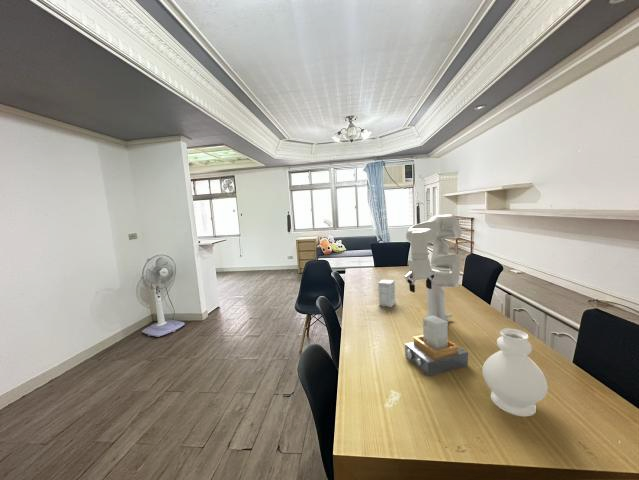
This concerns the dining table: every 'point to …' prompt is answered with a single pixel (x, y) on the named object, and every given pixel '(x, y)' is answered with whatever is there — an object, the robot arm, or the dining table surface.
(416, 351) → the frame
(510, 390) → the decorative vase
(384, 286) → the supplement box
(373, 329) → the dining table surface
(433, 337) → the small box
